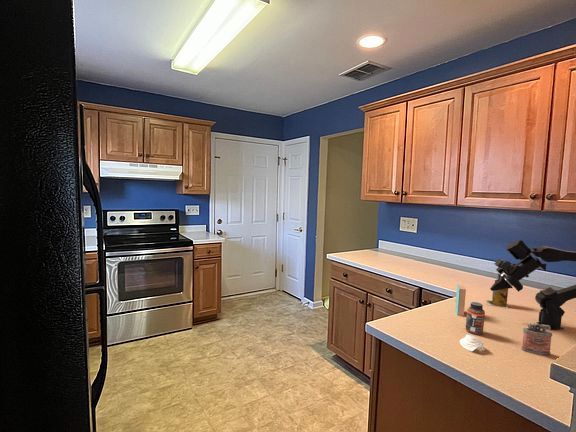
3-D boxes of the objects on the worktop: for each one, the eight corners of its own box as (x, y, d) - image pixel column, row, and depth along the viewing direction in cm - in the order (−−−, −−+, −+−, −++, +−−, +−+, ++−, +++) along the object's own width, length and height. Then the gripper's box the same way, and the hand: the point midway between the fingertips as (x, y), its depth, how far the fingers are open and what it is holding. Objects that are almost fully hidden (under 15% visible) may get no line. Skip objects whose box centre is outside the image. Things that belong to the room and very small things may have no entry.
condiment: (508, 308, 149) (510, 283, 148) (487, 304, 154) (489, 280, 152) (506, 303, 156) (508, 280, 155) (486, 300, 160) (488, 277, 159)
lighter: (523, 351, 109) (525, 323, 108) (519, 347, 112) (522, 319, 111) (551, 356, 106) (555, 328, 105) (547, 352, 109) (550, 324, 108)
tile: (461, 310, 145) (463, 285, 144) (463, 316, 138) (465, 289, 137) (455, 309, 146) (457, 284, 145) (457, 315, 139) (459, 288, 138)
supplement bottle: (476, 336, 119) (478, 307, 118) (461, 329, 125) (464, 301, 124) (486, 333, 122) (489, 305, 121) (472, 327, 127) (474, 300, 126)
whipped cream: (455, 345, 114) (454, 332, 113) (469, 342, 116) (469, 328, 115) (474, 355, 106) (473, 341, 106) (489, 351, 108) (489, 337, 108)
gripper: (503, 249, 142) (473, 270, 147) (516, 257, 125) (481, 280, 130) (522, 268, 140) (491, 289, 145) (538, 279, 123) (502, 302, 128)
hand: (491, 289), depth 137 cm, fingers closed
